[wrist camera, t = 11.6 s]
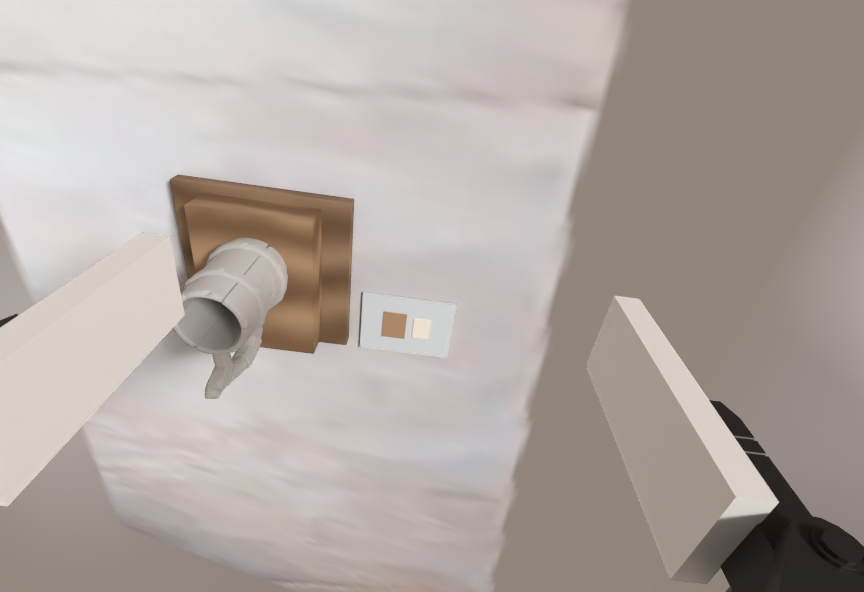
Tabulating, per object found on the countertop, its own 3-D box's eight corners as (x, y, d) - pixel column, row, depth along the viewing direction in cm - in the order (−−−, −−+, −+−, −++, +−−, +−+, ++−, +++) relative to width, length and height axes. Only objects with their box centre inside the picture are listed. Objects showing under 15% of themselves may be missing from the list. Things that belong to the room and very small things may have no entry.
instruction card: (363, 291, 52) (362, 293, 51) (456, 303, 52) (456, 305, 52) (360, 345, 56) (359, 347, 55) (446, 356, 56) (446, 358, 56)
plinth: (178, 174, 45) (149, 190, 41) (354, 199, 46) (344, 216, 42) (202, 319, 55) (181, 343, 50) (348, 337, 55) (339, 363, 51)
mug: (287, 236, 43) (235, 302, 33) (299, 335, 49) (259, 416, 39) (208, 231, 43) (132, 295, 33) (230, 330, 49) (172, 410, 39)
